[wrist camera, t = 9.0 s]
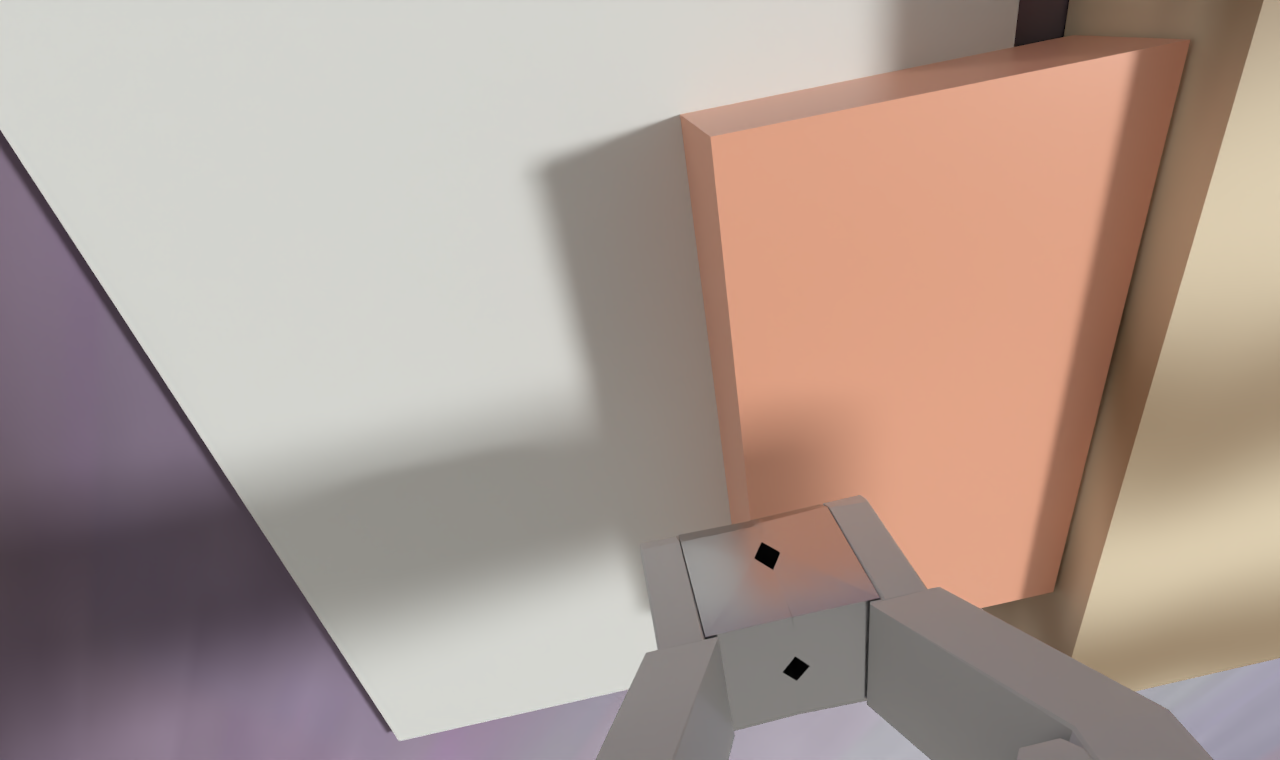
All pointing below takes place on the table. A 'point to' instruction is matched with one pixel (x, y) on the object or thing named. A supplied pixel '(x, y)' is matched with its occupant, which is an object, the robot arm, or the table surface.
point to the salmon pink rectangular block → (929, 292)
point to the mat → (434, 288)
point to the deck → (1186, 380)
